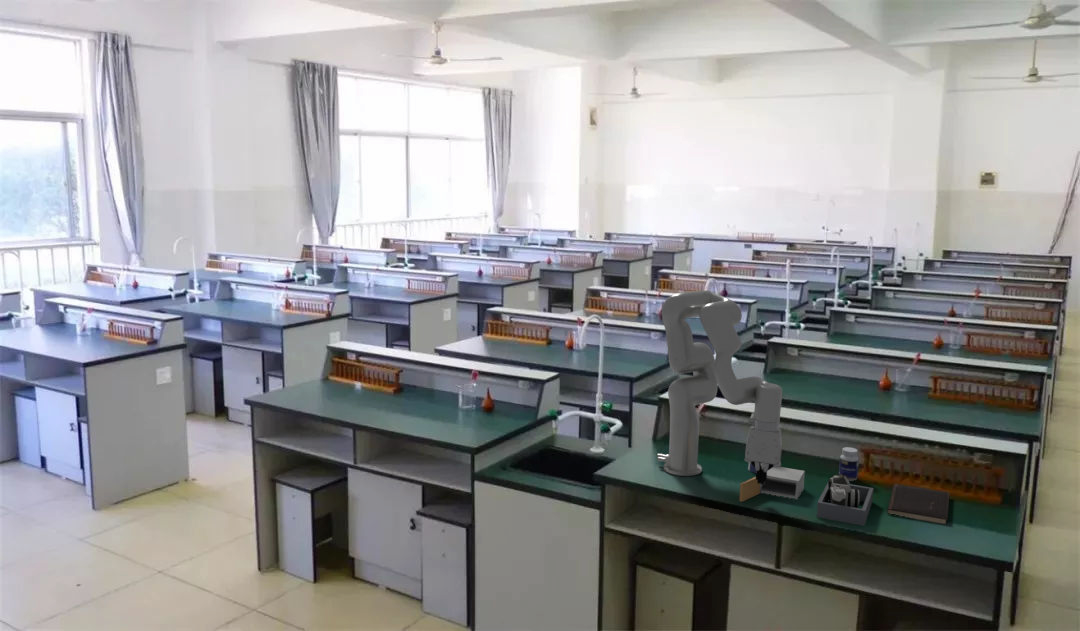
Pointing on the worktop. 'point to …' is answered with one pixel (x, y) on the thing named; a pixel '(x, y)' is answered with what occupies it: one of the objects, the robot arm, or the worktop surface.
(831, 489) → the camera
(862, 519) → the box
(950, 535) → the worktop surface
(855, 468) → the pill bottle
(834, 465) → the worktop surface
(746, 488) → the side door
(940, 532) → the worktop surface
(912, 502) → the hardcover book
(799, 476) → the box
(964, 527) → the worktop surface
